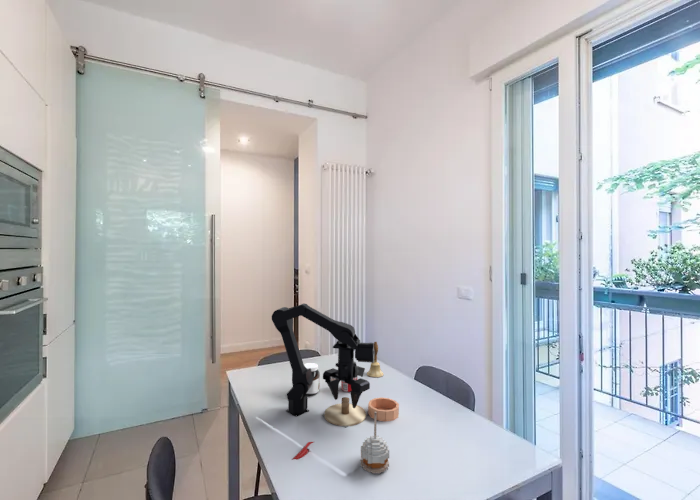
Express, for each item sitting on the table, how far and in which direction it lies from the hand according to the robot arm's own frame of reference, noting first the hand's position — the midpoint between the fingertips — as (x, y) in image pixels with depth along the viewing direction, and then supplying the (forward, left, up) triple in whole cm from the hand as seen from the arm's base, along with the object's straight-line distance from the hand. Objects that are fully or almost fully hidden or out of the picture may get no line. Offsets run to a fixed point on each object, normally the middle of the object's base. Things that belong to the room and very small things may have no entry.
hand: (345, 403), depth 120 cm
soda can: (+18, +15, -5) cm, 24 cm away
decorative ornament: (-14, -25, -5) cm, 29 cm away
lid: (0, 0, -4) cm, 4 cm away
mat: (0, 0, -5) cm, 5 cm away
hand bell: (+41, +19, -5) cm, 46 cm away
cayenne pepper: (-23, -6, -6) cm, 24 cm away
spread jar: (+4, +27, -5) cm, 28 cm away
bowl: (+11, -9, -5) cm, 15 cm away
